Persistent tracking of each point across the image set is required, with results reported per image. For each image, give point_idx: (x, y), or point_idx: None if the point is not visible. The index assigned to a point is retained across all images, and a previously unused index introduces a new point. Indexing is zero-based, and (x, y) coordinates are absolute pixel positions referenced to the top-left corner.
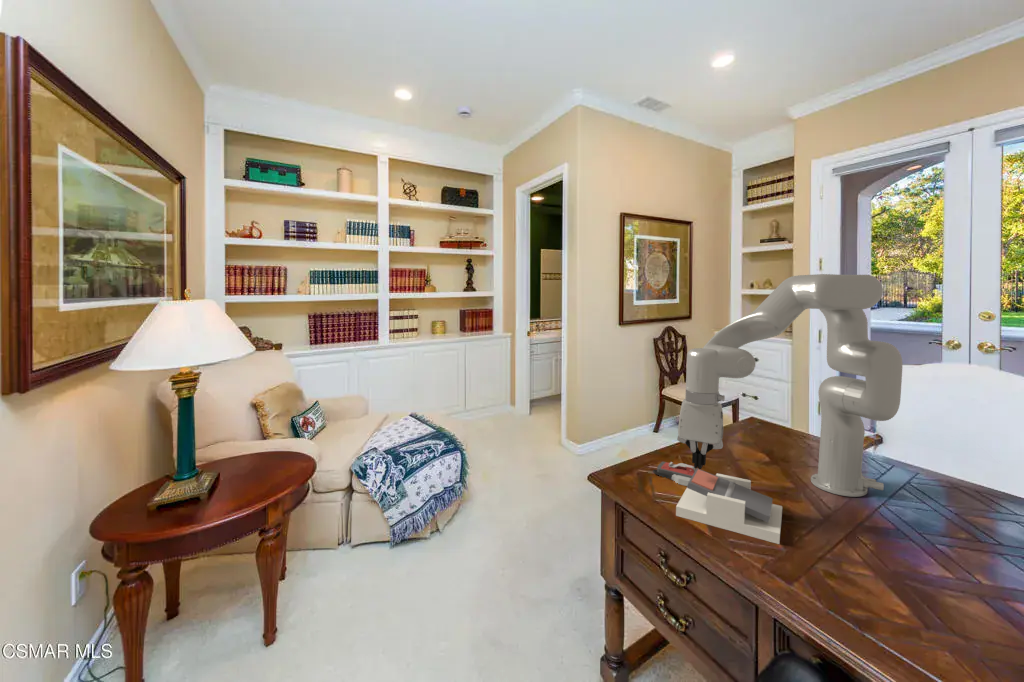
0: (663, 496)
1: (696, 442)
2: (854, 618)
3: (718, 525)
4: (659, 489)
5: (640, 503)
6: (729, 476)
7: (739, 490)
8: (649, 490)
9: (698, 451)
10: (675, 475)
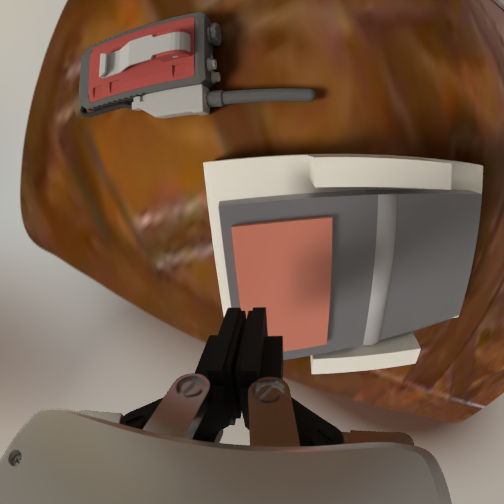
0: (162, 233)
1: (190, 432)
2: (469, 391)
3: None
4: (135, 196)
5: (140, 301)
6: (374, 166)
7: (409, 242)
8: (119, 221)
9: (227, 389)
10: (140, 105)
